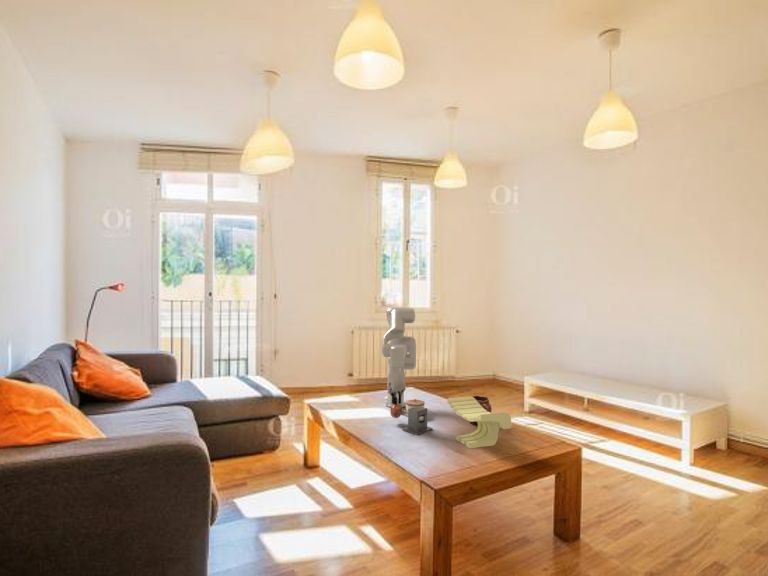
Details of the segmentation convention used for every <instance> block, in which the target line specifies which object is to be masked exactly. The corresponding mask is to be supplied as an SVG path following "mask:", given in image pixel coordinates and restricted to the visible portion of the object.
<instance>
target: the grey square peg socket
mask: <svg viewBox="0 0 768 576" xmlns="http://www.w3.org/2000/svg"><path fill="white" fill-rule="evenodd" d="M420 416H423V417H424V420H423V421H420ZM407 420H408V421H407V426H405V427H403V428H402V431H404V432H406V433H409V434H411V435H415V436H419V435H421V434H425V433H428V432H431V431H433V430H434V428H433V427H430V426H428V408H426V407H425V406H424V407H420V406H417V407H414V408H410V409H408V417H407Z"/></svg>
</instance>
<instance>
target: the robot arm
mask: <svg viewBox="0 0 768 576" xmlns="http://www.w3.org/2000/svg"><path fill="white" fill-rule="evenodd" d="M385 314H386V320H387V323H388V325H389V326H388V327H389V329H388V331H387V332H385V334H384V335H383V337H382V340H381V355H382V356H383V358H387V360H386V361H387V368H388V376H387V384H386V390H387V394H388V395H386V396H385V397H384V400H386V402H385V406H386V407H388V408H392V406H393V405H394V404H395V405H397V397H396V393H399V405H400V406H401V407H402V408H406V401H405V391H406V373H405V370H406V371H407V370H409V371H412V370H415V369H416V366H417V343H416V339H415V338H414V337H413V336H405V330H406V326H405V325H406V324H414V322H415V320H416V312H415V309H414V308H413V307H389V308H387V309H386V313H385ZM388 342H389V343H388Z"/></svg>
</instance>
